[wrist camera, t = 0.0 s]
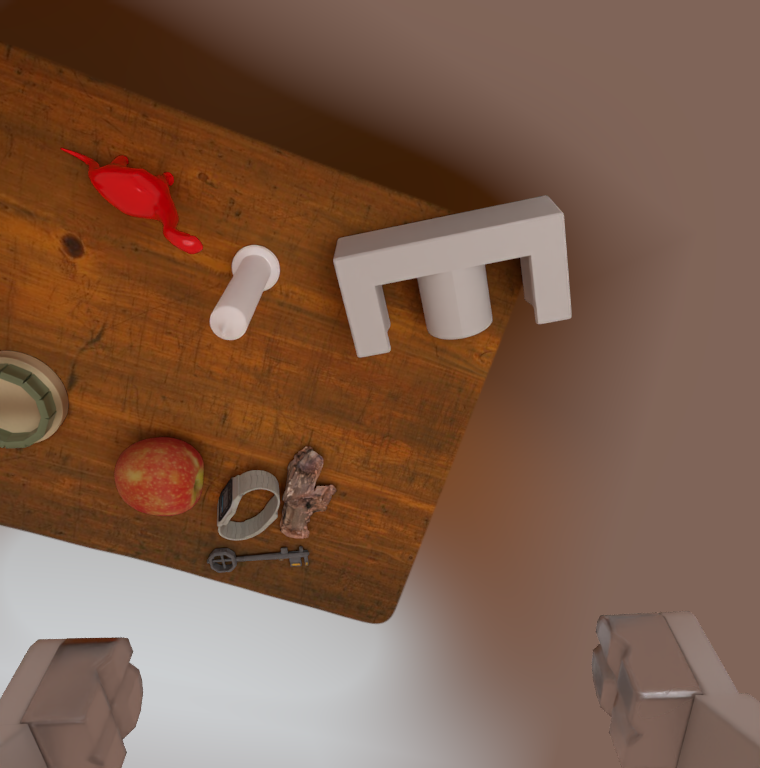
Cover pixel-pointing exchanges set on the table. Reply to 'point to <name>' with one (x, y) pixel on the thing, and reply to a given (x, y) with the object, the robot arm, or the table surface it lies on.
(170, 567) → the table surface
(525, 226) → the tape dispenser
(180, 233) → the dinosaur
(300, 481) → the tree bark
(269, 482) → the wristwatch
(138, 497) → the apple
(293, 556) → the key
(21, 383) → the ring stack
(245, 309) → the candle
